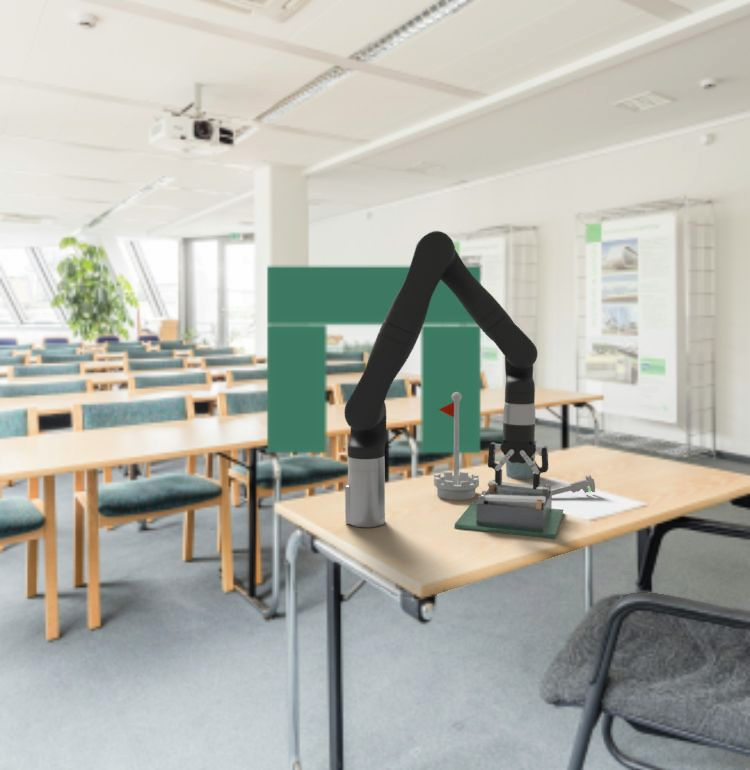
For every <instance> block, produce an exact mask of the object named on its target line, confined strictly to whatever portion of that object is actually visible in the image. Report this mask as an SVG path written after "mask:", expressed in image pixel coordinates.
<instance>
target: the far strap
mask: <svg viewBox="0 0 750 770" xmlns="http://www.w3.org/2000/svg"><path fill="white" fill-rule="evenodd" d="M489 484H494V487H500V488H508V489H516V490H525V491H533V492H541V493H543V488H546V489H549V490H550V488H549V487H545V486H540V485H539V487H537V489H533V484H532V485H531V484H523V483H522V484H521V483H513V482H505V481H502V485H501V486H498V485H497V483H496V482H495V481H492V480H489V481H488V482H487V487H489Z"/></svg>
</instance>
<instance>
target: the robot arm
mask: <svg viewBox="0 0 750 770" xmlns="http://www.w3.org/2000/svg"><path fill="white" fill-rule="evenodd" d="M440 281H442V283H444V285H445V286H446V287H448V288H449V290H450V291H451V292H452V293H453V294H454V296H455V297H456V298H457V299H458V300H459V302H460V304H461V305H462V307H463V308H464V309H465V310H466V312H467V313H468V315H469V316H470V317H471V318H472V321H474V322H475V324H477V326H478V327H479V329H480V330H481V331H482V332H483V333H484V334H485V335H486V336H487V337H488V338H489V339H490V341H493V342H494V343H495V345H496V346H497V348H498V349H499V350H500V351H501V353H502V354H503V355H504V369H505V370H504V371H505V389H504V407H503V414H502V416H503V418H502V420H503V421H502V443H496V442H495V441H493V442H491V443H490V444H489V447H488V458H487V467H488V468H489V469H493V471H494V473H495V474H494V480H495V482H496V483H497V485H498V486H501V485H502V482H503V469H502V468H503V466H504V465H506V462H507V461H510V462H511V463H516V462H518V463H522V464H524V463H526V462H527V464H528V465H529V466H530V467H531V468H532V470H533V471H534V474H533V477H532V486H533V489H537V487H539V486H540V484H541V474H543V473H547V472H548V470H549V448H548V446H547V445H543V446H537V445H536V446H535V443H534V439H536V437H535V432H536V420H537V419H536V407H535V398H536V397H535V396H536V395H535V394H536V386H535V381H534V376H533V375H534V364H535V363H536V361H537V358H538V349H537V346H536V344H535V343H534V342H533V340H532V339H530V338H529V336H527V335H526V334H525V332H524V331H523V330H522V329H521V328H520V327H519V326H517V324H516V323H515V321H513V319H512V318H511V316H510V315H509V314H508V312H506V310H505V309H504V308H503V307H502V305H501V304H500V303H499V302H498V301H497V300H496V298H495V297H494V296H493V295H492V294H491V293H490V292H489V291H488V290H487V289H486V288H485V287H484V286H483V285H482V284H481V283H480V282H479V281H478V280H477V278H475V276H474V275H473V274H472V273H471V271H470V270H469V269H468V268H467V266H466V265H465V263H464V262H463V260H462V259H461V257H460V255H459V254H458V251H457V250H456V246H455V244H454V241H453V239H452V238H451V237H450V236H449V235H448V234H447V233H445V232H443V231H440V230H432V231H429V232H426V233H424V235H422V236H421V237H420V238H419V240H418V241H417V243H416V245H415V249H414V251H413V256H412V258H411V262H410V265H409V268H408V271H407V274H406V276H405V279H404V282H403V283H402V286H401V288H400V289H399V291H398V293H397V295H396V296H395V298H394V300H393V302H392V303H391V305H390V307H389V309H388V311H387V313H386V315H385V317H384V319H383V322H382V324H381V326H380V329H379V331H378V333H377V335H376V339H375V341H374V344H373V347H372V349H371V350H370V351H371V352H370V354H369V356H368V359H367V360H368V361H367V363H366V366H365V369H364V371H363V374H362V375H361V377H360V379H359V380H358V382H357V385H356V386H355V388H354V390H353V391H352V393H351V395H350V396H349V398H348V400H347V402H346V404H345V405H344V406H345V407H344V419H345V421H346V424H347V425H348V426H349V428H350V435H349V439H348V440H349V441H348V443H347V444H348V445H347V485H345V487H344V489H345V491H344V497H345V499H344V500H345V503H344V506H345V507H344V508H345V509H344V510H345V511H344V512H345V524H346V523H347V525H351V526H352V527H357V528H375V527H379V526H382V525H384V524H385V522H386V501H385V500H386V496H385V495H386V484H385V483H386V481H385V480H386V478H385V477H386V476H385V475H386V474H385V473H386V472H385V470H386V469H385V465H386V464H385V462H386V461H385V448H386V442H387V406H386V402H385V401H386V399H387V398H386V397H387V396H388V392H389V390H390V388H391V385H392V384H393V381H394V380H395V379H396V377H397V375H398V374H399V373H400V371H401V370H402V368H403V367H404V365H405V364H406V362H407V361H408V359H409V357H410V355H411V353H412V352H413V350H414V348H415V345H416V343H417V341H418V339H419V337H420V335H421V331H422V329H423V327H424V323H425V320H426V317H427V313H428V310H429V308H430V303H431V301H432V297H433V295H434V292H435V290H436V288H437V286H438V285H439V283H440ZM499 449H500V450H501V452H502V454H503V455H504V456H503V457H502V458H501V460H500V461H499V462H498V463H497V462H495V459H496V453H498V451H499ZM536 452H537V454H538V456H540V457H541V466H539V464H538V463H537V461H536V460H535V459H536V458H535V459H534V458H533V457H532V455H533V454H534V453H535V454H536Z"/></svg>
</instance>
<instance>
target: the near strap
mask: <svg viewBox="0 0 750 770" xmlns="http://www.w3.org/2000/svg"><path fill="white" fill-rule="evenodd" d="M481 496H485V501H508V502H534V503H536V501H542V503H545V500H546V497H543V496H515V495H487V494H482V493H481Z"/></svg>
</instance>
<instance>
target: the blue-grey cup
mask: <svg viewBox="0 0 750 770" xmlns="http://www.w3.org/2000/svg"><path fill="white" fill-rule="evenodd" d="M537 441H538V440H537V439H536V438H535V439H534V443H535V446H536V447H537ZM532 457H533V458H534V459H536V452H535V453H534V454H533V455H532ZM505 474H506V477H508V478H510V477H511V478H510V479H514V478H516V480H528V478H529V479H533V474H534V471H533V470H532V468H531V467H530V466H529V465H528V464H527V462H526V463H524V464H522V463H518V462H516V463H511V462H510V461H507V462H506V463H505Z"/></svg>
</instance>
